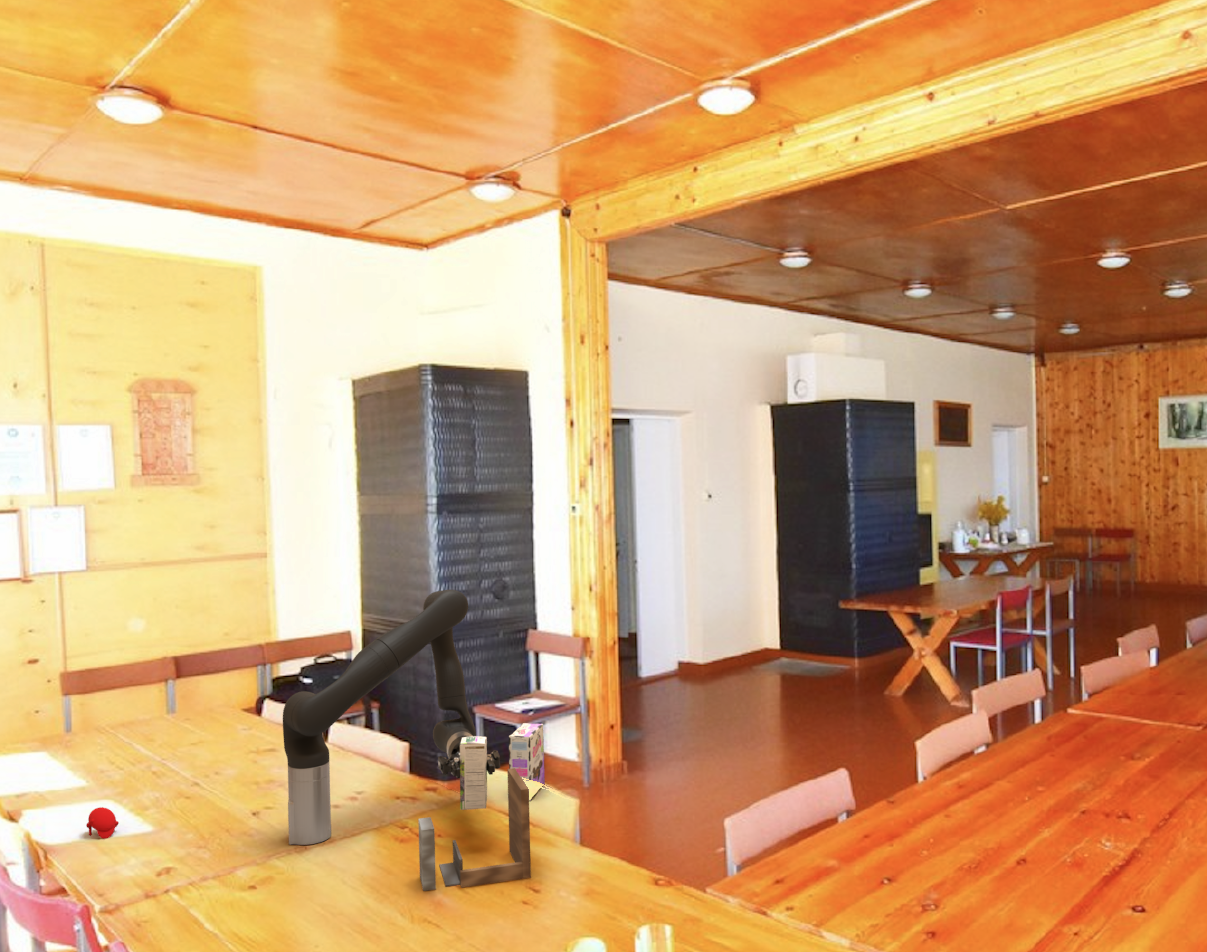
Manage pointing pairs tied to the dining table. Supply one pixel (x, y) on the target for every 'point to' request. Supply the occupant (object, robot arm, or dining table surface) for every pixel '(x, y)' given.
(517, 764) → the candy box
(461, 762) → the syrup box
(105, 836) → the cap
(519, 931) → the dining table surface
